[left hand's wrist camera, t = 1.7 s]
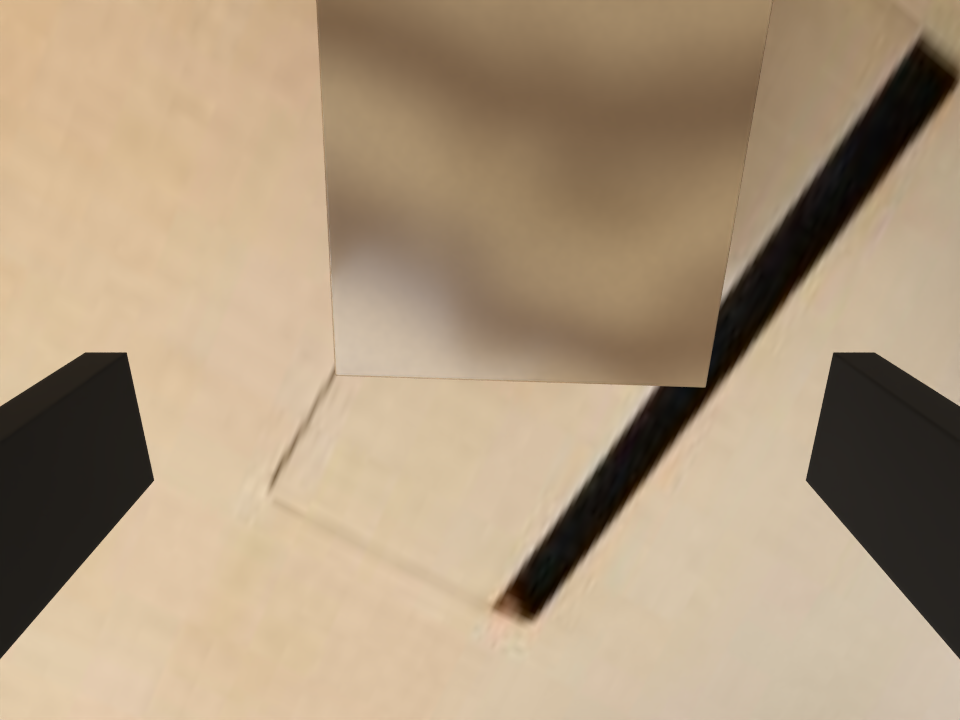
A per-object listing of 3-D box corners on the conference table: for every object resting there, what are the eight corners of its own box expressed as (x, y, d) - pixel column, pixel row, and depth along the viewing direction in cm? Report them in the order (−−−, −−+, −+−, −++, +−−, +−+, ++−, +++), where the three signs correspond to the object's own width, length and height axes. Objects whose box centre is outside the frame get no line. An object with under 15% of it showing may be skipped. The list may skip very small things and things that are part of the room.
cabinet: (368, -197, 22) (295, -393, 14) (698, -183, 22) (838, -369, 14) (379, 293, 29) (335, 376, 20) (637, 302, 29) (706, 387, 20)
